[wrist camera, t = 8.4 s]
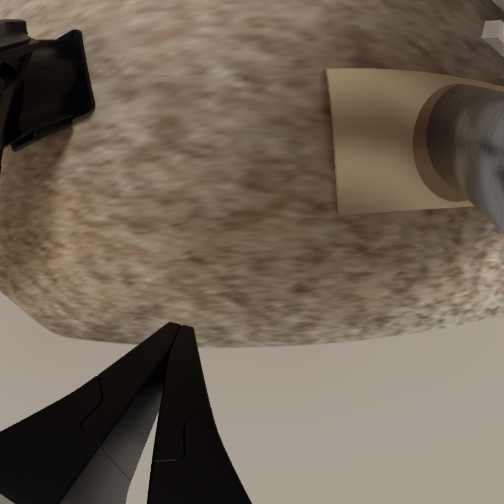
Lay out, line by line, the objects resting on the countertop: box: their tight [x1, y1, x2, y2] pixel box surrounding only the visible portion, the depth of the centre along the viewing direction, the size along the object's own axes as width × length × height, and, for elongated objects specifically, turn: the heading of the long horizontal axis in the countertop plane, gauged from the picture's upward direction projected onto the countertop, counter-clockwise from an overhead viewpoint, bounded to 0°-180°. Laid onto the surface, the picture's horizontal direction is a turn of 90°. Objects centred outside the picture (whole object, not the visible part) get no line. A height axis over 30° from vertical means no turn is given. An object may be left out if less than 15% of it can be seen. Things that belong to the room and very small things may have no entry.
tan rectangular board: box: [325, 68, 504, 216], centre depth 16 cm, size 10×14×1 cm, turn 99°
